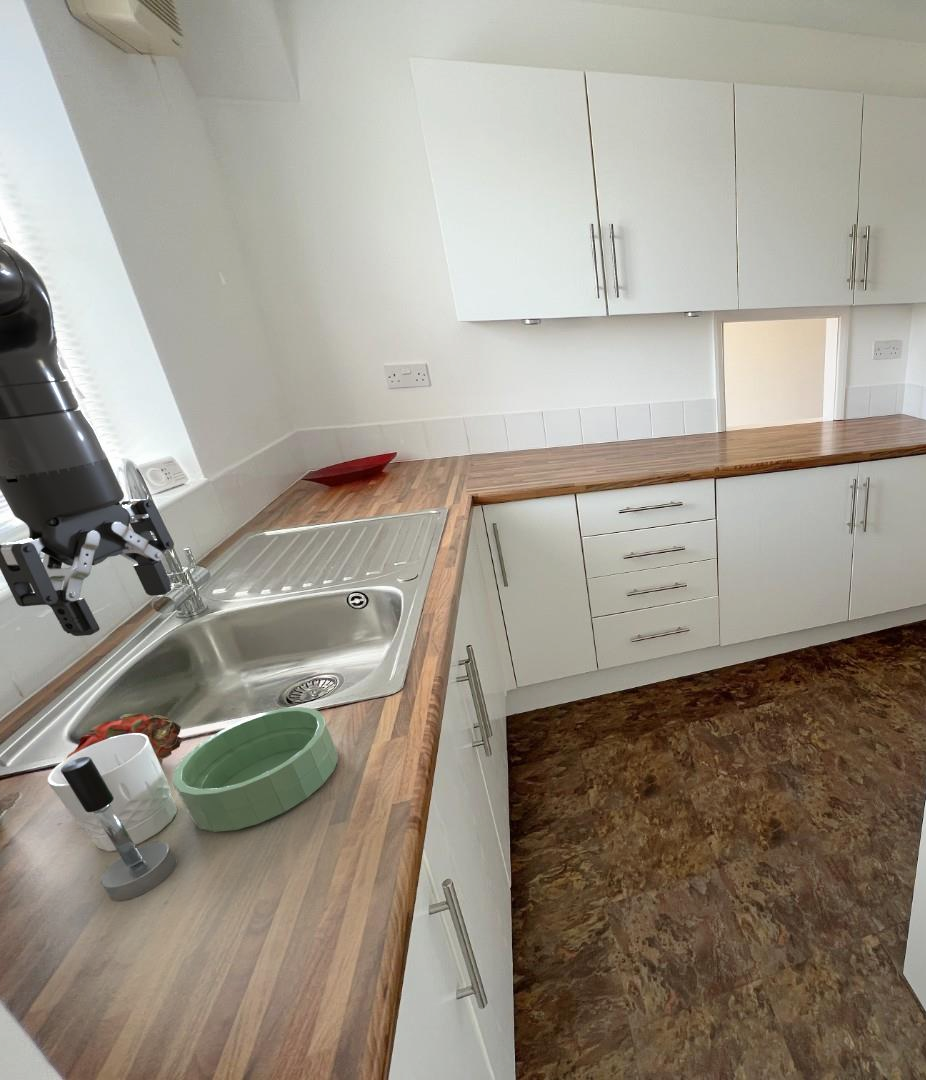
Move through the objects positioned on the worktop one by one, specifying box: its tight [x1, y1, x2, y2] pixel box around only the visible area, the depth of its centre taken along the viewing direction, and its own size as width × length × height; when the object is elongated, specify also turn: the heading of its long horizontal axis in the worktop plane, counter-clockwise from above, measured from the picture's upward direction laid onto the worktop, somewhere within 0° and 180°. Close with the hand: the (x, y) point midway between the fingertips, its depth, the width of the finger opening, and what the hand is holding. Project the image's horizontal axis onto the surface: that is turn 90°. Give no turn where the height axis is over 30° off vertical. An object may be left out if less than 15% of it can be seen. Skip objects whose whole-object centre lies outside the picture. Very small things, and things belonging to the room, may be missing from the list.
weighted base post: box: [61, 757, 177, 902], centre depth 57 cm, size 5×5×15 cm
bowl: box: [172, 706, 339, 833], centre depth 70 cm, size 15×15×6 cm
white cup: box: [46, 733, 178, 853], centre depth 65 cm, size 8×8×10 cm
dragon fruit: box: [63, 713, 184, 765], centre depth 74 cm, size 8×8×12 cm
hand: (125, 612), depth 61 cm, fingers open, 8 cm apart
